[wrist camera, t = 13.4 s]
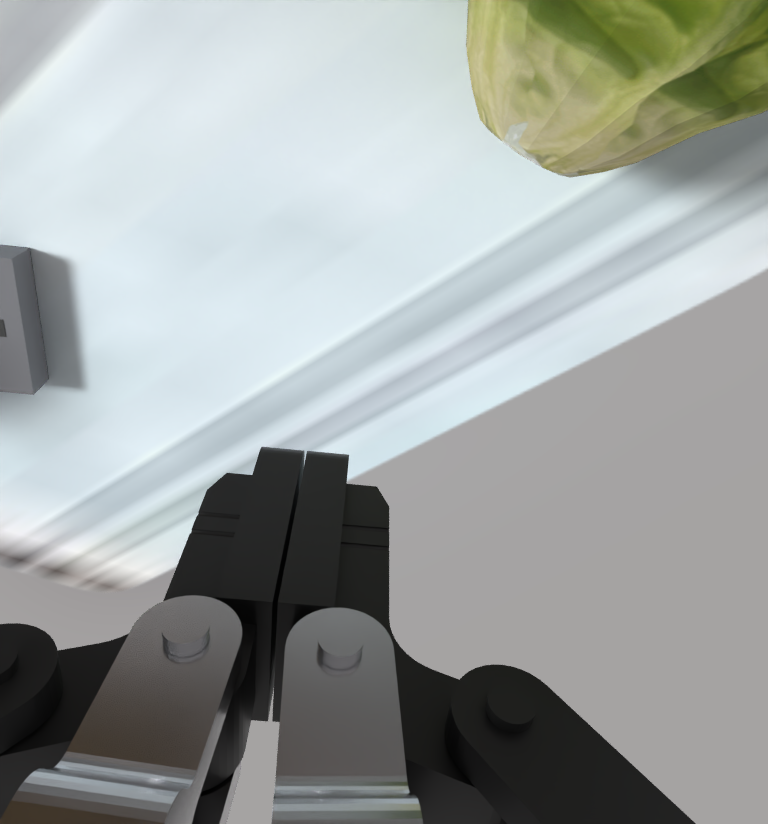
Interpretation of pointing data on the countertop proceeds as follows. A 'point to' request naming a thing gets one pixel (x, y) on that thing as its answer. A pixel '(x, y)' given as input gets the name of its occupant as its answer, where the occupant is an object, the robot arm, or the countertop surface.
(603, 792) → the robot arm
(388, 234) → the countertop surface
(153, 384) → the countertop surface
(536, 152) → the lettuce
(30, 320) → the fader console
